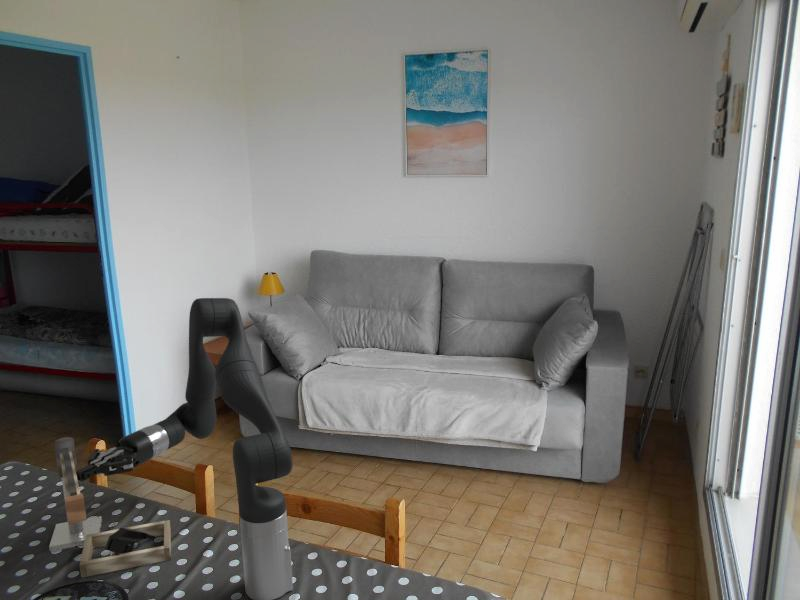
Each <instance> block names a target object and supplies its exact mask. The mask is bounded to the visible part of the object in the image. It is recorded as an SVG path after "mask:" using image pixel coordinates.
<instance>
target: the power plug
mask: <svg viewBox="0 0 800 600" xmlns="http://www.w3.org/2000/svg"><path fill="white" fill-rule="evenodd" d="M118 529H119V530H118V531H117V532H115V533H114V534H113V535H110V536H109V538H108V541H107V544H106V546H104V550H106V551H109V552H110V555H109V556H113V555H116V554H118V555H119V554H124V553H129V552H133V549H134V546H135V544H136V541H137V540H136V539H141V540H147V539H153V540H154V539H156V537H155V536H152V535H149V534H147V533H144V532H141V531H137V530H133V529H127V527H119V528H118ZM115 553H116V554H115Z"/></svg>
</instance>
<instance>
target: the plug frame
mask: <svg viewBox="0 0 800 600" xmlns="http://www.w3.org/2000/svg"><path fill="white" fill-rule="evenodd" d="M126 528H127V529H133V530H137V531H141V532H144V533H147V534H149V535H152V536H155V538H156V537H160V536H163V545H161V546H156V547H150V548H145V549H141V550H140V549H139V550H134V551H132V552H129V553H124V554H119V553H118V554H114V555H113V556H110V555H109V556H108V555H107V556H104V557H99V558H98V557H97V558H93V559H92V557H93V551H94V548H93V547H98V548H103V547H104V548H105V546H106V544H107V541H108V538H109V536H110V535H113V534H114V533H115V532H117V531H118V530H119V529H120V528H117V529H111V530H107V531H100V533H94V534H89V535H86V539H85V543H84V545H83V549H82V552H81V557H80V561H79V571H80V576H81V577H80V578H86V577H92V576H97V575H102V574H107V573H112V572H117V571H123V570H126V569H131V568H136V567H141V566H147V565H151V564H155V563H161V562H166V561H171V560H172V536H171V535H172V529H171V520H170V519H167V520H160V521H156V522H151V523H144V524H139V525H138V524H137V525H134V526H133V525H132V526H127V527H126ZM141 540H142V539H136V540H135V541H141ZM92 550H93V551H92Z"/></svg>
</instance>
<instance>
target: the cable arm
mask: <svg viewBox="0 0 800 600" xmlns="http://www.w3.org/2000/svg"><path fill="white" fill-rule="evenodd" d="M53 445H54V452H55V460H56V467H57V473H58V477H59V478H61V477H63V479H64V485H65V491H66V498H65V499H64V504H66V506H65V511H67V513H66V518H68V520H67V522H68V524H69V525H70V524H73V523H77V522H81V521H85V520H87V519H88V518H87V512H86V505H85V497H84V493H81V491H80V486H79V482H78V481H79V480H77V475H76V471H77V470H79V469H78V462H77V455H76V454H77V453H76V447H75V440H74V437H70V436H69V437H68V436H67V437H60V438H58V439H56V440H55V441H54V442H53Z"/></svg>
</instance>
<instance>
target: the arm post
mask: <svg viewBox="0 0 800 600" xmlns="http://www.w3.org/2000/svg"><path fill="white" fill-rule="evenodd" d="M60 478H61V483H62V490H63V498H64V500H65V498H66V491H65V485H64V479H63V477H60ZM64 504H65V503H64ZM65 507H66V504H65ZM65 511H66V510H65ZM65 513H66V514H67V511H66V512H65ZM66 518H67V517H66ZM101 523H103V519H102V515H100V516H94V517H93V516H92V517H88V518H87V520H85V521H81V522H77V523H73V524H70V525H69V524H68V518H67V522H66V521H65V522H60V523H55V528H54V530H53V533H52V536H51V540H50V543H49V547H48V548H49V552H55V551H59V550H60V551H61V550H66V549H71V548H76V547H75V546H77V547H80V546H79V545H82V546H84V543H85V539H86V535H89V534H94V533H100V532H101V529H100V528H102V524H101Z"/></svg>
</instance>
